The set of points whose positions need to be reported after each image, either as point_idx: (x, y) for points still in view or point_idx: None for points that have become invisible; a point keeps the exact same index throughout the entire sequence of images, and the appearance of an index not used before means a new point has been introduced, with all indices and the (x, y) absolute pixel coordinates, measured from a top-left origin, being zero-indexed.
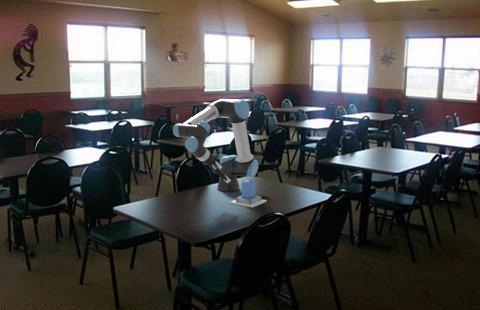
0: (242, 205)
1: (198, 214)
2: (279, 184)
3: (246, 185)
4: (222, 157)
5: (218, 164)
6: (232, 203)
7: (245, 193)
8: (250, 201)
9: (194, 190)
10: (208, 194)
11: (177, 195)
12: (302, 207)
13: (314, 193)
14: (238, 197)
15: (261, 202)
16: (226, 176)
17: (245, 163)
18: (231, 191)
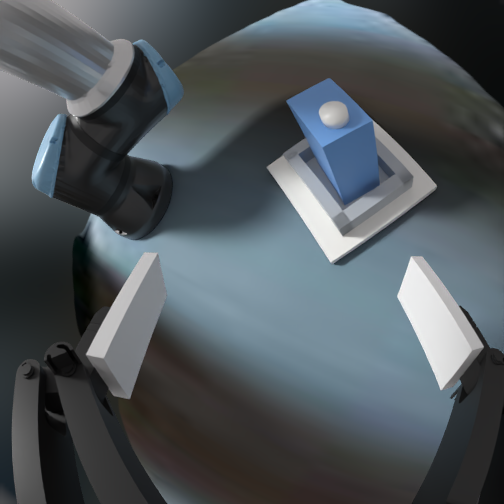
0: (393, 221)
1: (425, 470)
2: (183, 67)
3: (361, 138)
4: (35, 177)
5: (132, 310)
6: (342, 256)
7: (360, 170)
8: (412, 178)
9: None
10: None
11: (135, 405)
12: (440, 52)
13: (298, 11)
14: (338, 213)
15: (384, 131)
16: (466, 321)
17: (132, 78)
18: (169, 198)
